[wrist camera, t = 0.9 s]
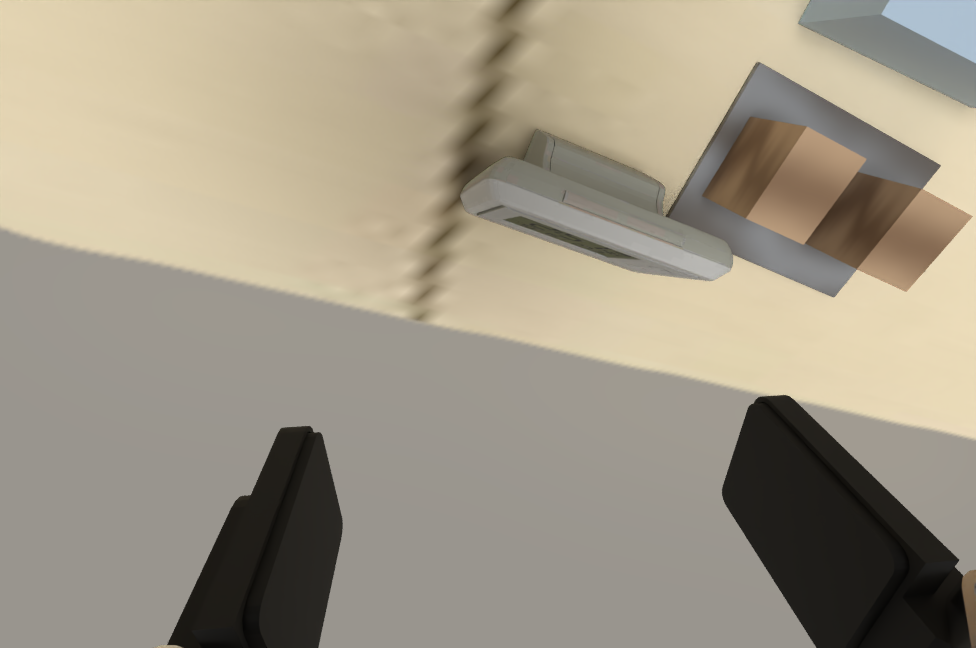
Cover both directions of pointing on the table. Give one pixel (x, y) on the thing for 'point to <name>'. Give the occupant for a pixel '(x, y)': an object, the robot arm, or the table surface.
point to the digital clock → (593, 210)
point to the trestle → (815, 191)
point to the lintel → (907, 38)
